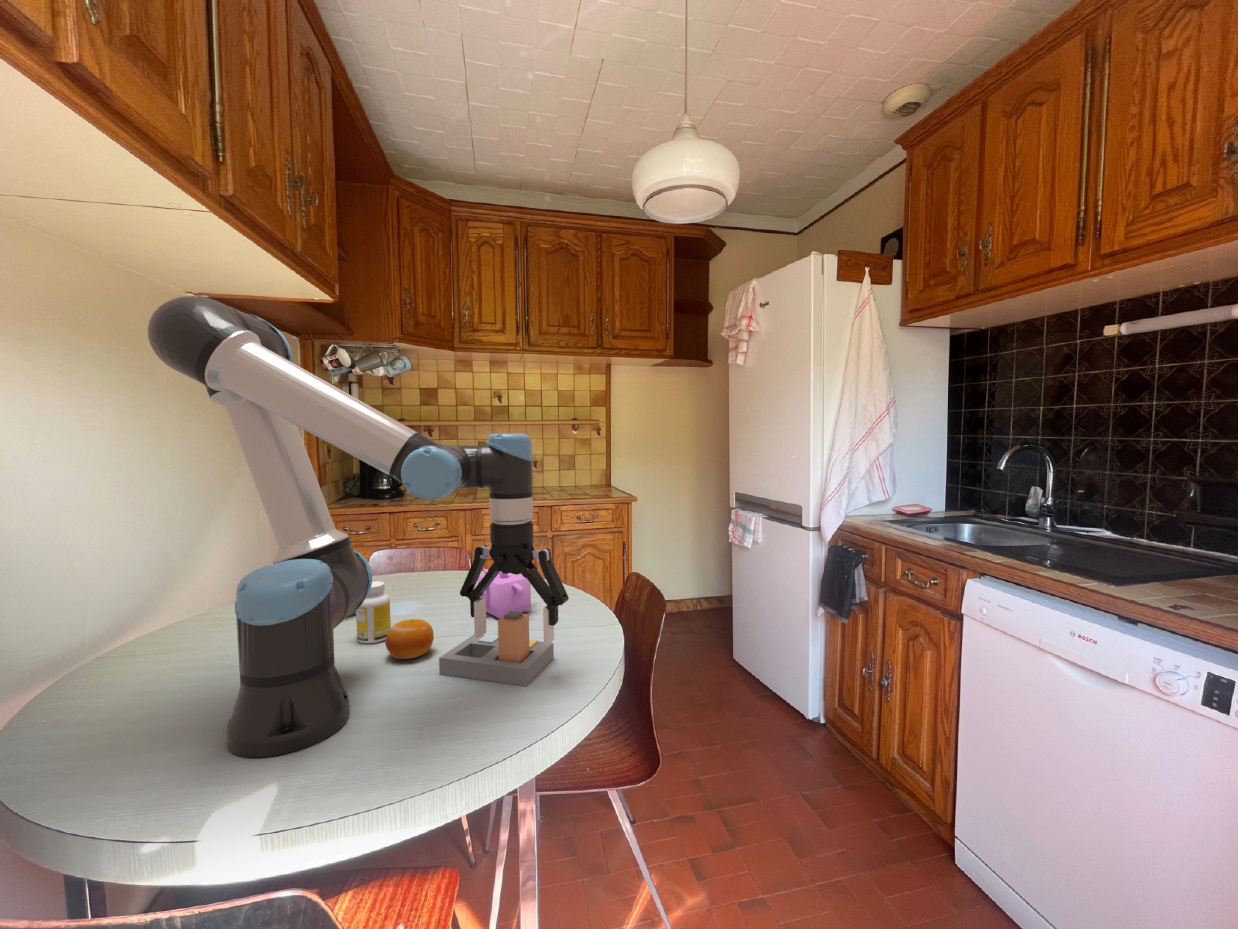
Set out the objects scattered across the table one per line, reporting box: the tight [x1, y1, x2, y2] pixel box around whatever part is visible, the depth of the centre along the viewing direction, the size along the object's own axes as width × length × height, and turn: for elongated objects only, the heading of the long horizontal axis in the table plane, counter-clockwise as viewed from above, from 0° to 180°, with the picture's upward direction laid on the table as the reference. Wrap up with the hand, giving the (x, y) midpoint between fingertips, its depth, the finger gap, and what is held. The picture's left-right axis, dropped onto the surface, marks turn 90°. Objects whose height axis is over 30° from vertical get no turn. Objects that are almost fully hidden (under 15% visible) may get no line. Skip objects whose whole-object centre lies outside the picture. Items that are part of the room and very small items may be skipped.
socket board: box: [438, 633, 555, 687], centre depth 96 cm, size 12×17×3 cm
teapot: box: [477, 568, 532, 619], centre depth 126 cm, size 18×14×10 cm
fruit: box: [384, 618, 435, 660], centre depth 101 cm, size 8×8×8 cm
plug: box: [497, 611, 530, 663], centre depth 93 cm, size 4×4×11 cm
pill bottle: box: [355, 580, 392, 644], centre depth 109 cm, size 6×6×12 cm
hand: (514, 638), depth 93 cm, fingers open, 13 cm apart
